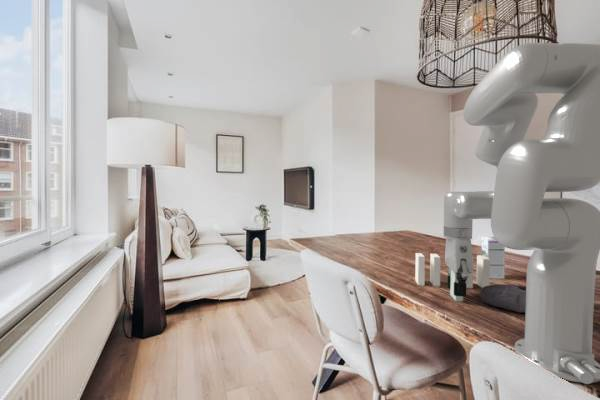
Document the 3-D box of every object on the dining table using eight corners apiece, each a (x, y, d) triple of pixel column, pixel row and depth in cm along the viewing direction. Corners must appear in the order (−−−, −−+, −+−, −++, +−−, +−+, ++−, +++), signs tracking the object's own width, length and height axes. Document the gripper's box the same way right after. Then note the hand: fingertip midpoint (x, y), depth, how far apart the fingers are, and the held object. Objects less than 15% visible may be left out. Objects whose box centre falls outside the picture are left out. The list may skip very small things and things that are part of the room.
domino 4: (472, 288, 93) (473, 258, 92) (466, 287, 93) (466, 258, 93) (466, 283, 98) (467, 254, 97) (460, 282, 98) (461, 254, 98)
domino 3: (463, 301, 83) (463, 268, 82) (455, 301, 83) (456, 267, 83) (457, 294, 88) (457, 263, 87) (450, 294, 88) (450, 263, 87)
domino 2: (440, 286, 95) (440, 257, 94) (433, 286, 95) (434, 257, 95) (436, 281, 100) (436, 253, 99) (430, 281, 100) (430, 253, 100)
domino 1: (424, 285, 96) (424, 256, 95) (418, 285, 96) (418, 256, 96) (421, 280, 101) (421, 253, 100) (415, 280, 101) (415, 253, 101)
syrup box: (505, 279, 101) (506, 239, 101) (486, 278, 103) (487, 239, 102) (497, 274, 107) (498, 236, 106) (480, 273, 108) (481, 236, 107)
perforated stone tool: (478, 305, 80) (478, 281, 79) (480, 299, 84) (481, 276, 83) (548, 321, 70) (549, 294, 70) (547, 313, 74) (548, 288, 74)
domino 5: (489, 289, 92) (490, 259, 92) (482, 288, 92) (483, 258, 92) (482, 284, 97) (483, 255, 96) (476, 283, 97) (476, 255, 97)
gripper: (484, 238, 75) (482, 304, 76) (460, 228, 92) (459, 283, 93) (453, 237, 77) (452, 302, 78) (436, 228, 93) (435, 282, 94)
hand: (456, 291), depth 85 cm, fingers closed on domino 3, 4 cm apart
